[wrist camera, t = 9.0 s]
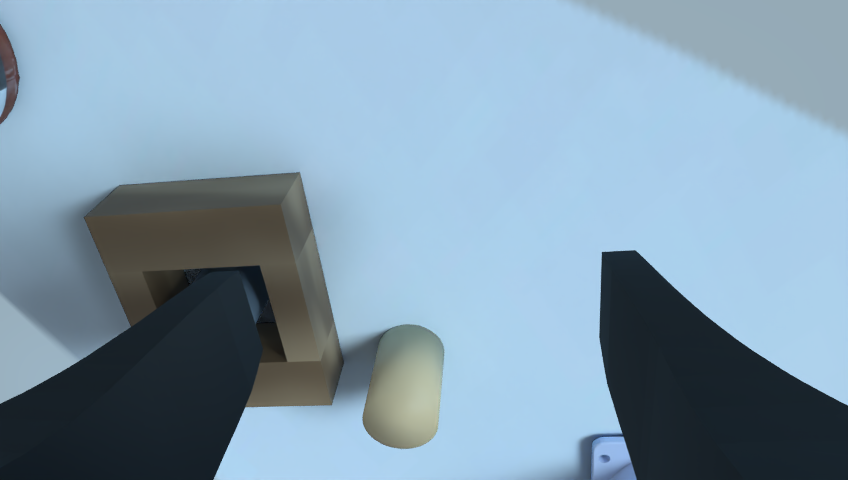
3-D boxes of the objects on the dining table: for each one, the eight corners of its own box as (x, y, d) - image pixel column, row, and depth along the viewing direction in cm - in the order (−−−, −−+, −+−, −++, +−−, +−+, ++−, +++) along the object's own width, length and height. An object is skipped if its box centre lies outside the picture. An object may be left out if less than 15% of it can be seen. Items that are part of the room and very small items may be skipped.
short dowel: (447, 374, 28) (441, 448, 24) (383, 376, 28) (369, 449, 24) (440, 323, 26) (433, 393, 23) (373, 325, 26) (356, 394, 23)
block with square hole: (343, 362, 28) (331, 404, 25) (190, 367, 28) (166, 408, 26) (299, 172, 23) (280, 204, 21) (119, 185, 24) (83, 217, 22)
